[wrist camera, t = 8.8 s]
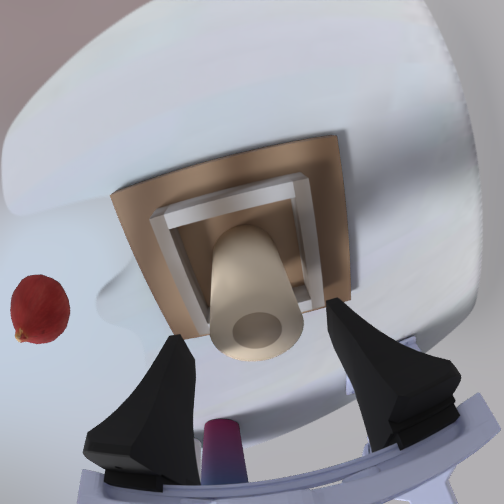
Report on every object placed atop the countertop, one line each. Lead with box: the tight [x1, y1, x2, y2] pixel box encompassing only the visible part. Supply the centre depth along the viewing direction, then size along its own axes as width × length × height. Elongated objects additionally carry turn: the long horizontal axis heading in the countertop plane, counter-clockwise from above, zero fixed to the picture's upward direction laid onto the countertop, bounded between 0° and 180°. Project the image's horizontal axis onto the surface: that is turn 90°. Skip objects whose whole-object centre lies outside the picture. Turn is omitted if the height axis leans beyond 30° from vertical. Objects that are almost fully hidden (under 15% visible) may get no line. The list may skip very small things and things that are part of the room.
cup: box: [201, 419, 249, 501], centre depth 27 cm, size 7×7×15 cm
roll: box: [210, 225, 304, 361], centre depth 17 cm, size 5×5×8 cm
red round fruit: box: [10, 275, 70, 344], centre depth 17 cm, size 6×6×8 cm
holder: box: [110, 135, 351, 340], centre depth 20 cm, size 16×14×3 cm
